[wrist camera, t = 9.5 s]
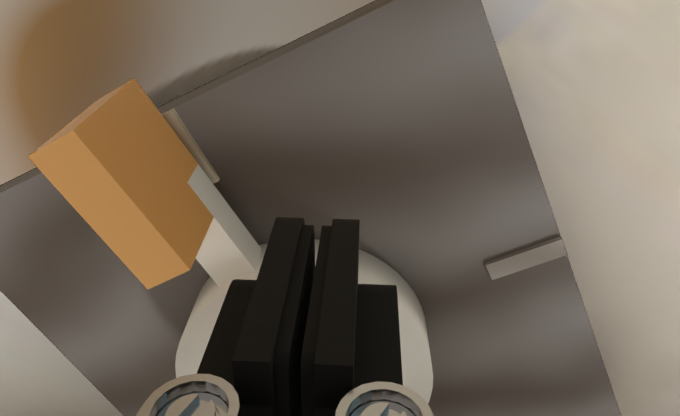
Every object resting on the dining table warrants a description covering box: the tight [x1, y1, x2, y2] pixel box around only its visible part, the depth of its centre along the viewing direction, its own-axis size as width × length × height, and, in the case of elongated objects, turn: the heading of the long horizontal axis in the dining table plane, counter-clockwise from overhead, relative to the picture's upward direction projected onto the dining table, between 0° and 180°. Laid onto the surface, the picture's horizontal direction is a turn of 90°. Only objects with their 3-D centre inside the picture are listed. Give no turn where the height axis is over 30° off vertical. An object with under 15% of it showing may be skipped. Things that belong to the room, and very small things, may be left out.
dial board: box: [0, 0, 621, 416], centre depth 25 cm, size 22×22×2 cm
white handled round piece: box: [28, 78, 433, 403], centre depth 20 cm, size 18×10×5 cm, turn 29°
